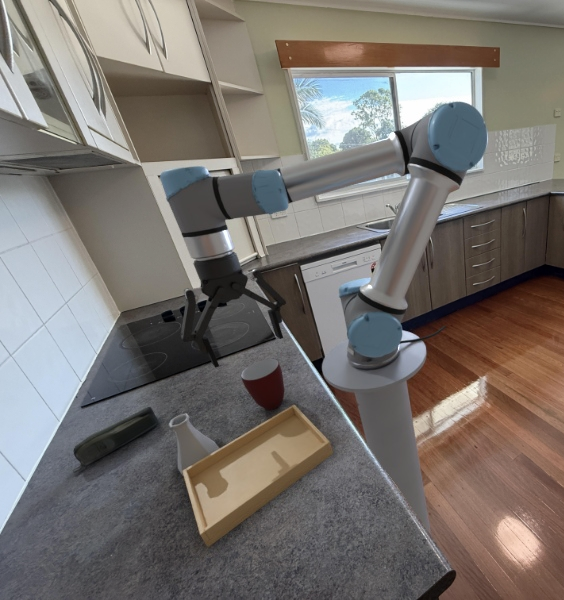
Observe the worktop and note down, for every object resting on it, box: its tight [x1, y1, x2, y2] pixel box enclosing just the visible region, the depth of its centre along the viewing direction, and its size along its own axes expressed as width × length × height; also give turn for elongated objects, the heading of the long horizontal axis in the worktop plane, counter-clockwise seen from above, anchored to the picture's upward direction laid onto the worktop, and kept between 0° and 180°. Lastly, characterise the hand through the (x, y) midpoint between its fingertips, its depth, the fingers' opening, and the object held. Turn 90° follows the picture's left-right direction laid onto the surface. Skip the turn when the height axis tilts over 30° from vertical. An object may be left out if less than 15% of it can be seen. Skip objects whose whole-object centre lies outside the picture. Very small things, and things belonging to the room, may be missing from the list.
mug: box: [240, 358, 285, 411], centre depth 72 cm, size 11×8×10 cm
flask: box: [168, 412, 221, 477], centre depth 59 cm, size 7×7×10 cm
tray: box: [182, 404, 334, 548], centre depth 56 cm, size 21×15×3 cm
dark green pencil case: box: [72, 406, 159, 474], centre depth 66 cm, size 5×3×15 cm
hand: (249, 350), depth 68 cm, fingers open, 13 cm apart
